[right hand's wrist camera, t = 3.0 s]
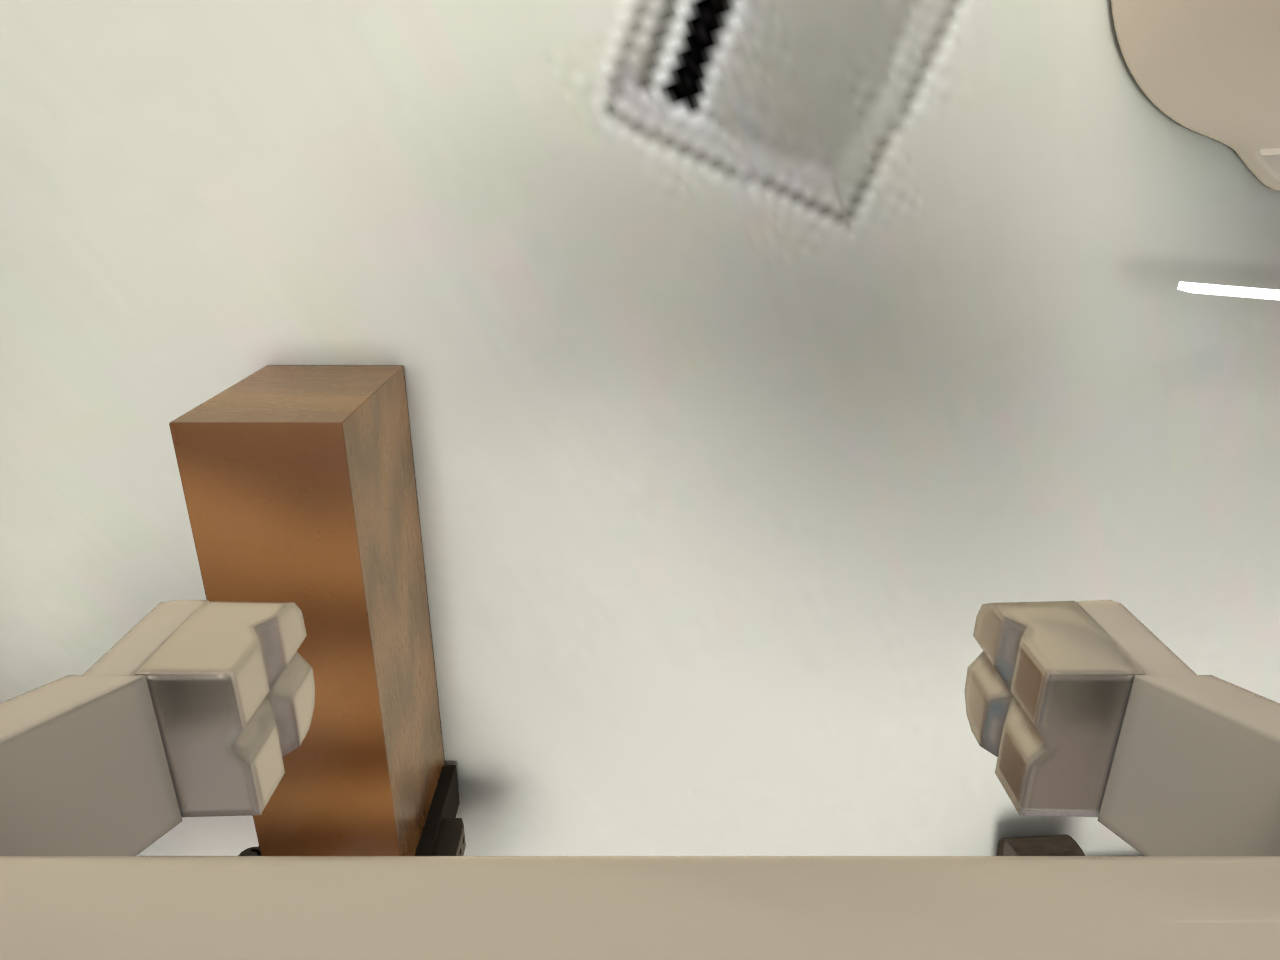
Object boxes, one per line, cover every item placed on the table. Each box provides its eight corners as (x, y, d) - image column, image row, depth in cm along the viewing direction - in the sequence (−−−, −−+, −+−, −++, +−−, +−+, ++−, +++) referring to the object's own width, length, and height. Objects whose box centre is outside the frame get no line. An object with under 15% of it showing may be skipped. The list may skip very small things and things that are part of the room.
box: (266, 365, 40) (168, 422, 31) (403, 365, 40) (342, 422, 31) (341, 823, 50) (282, 958, 42) (451, 823, 50) (413, 958, 42)
